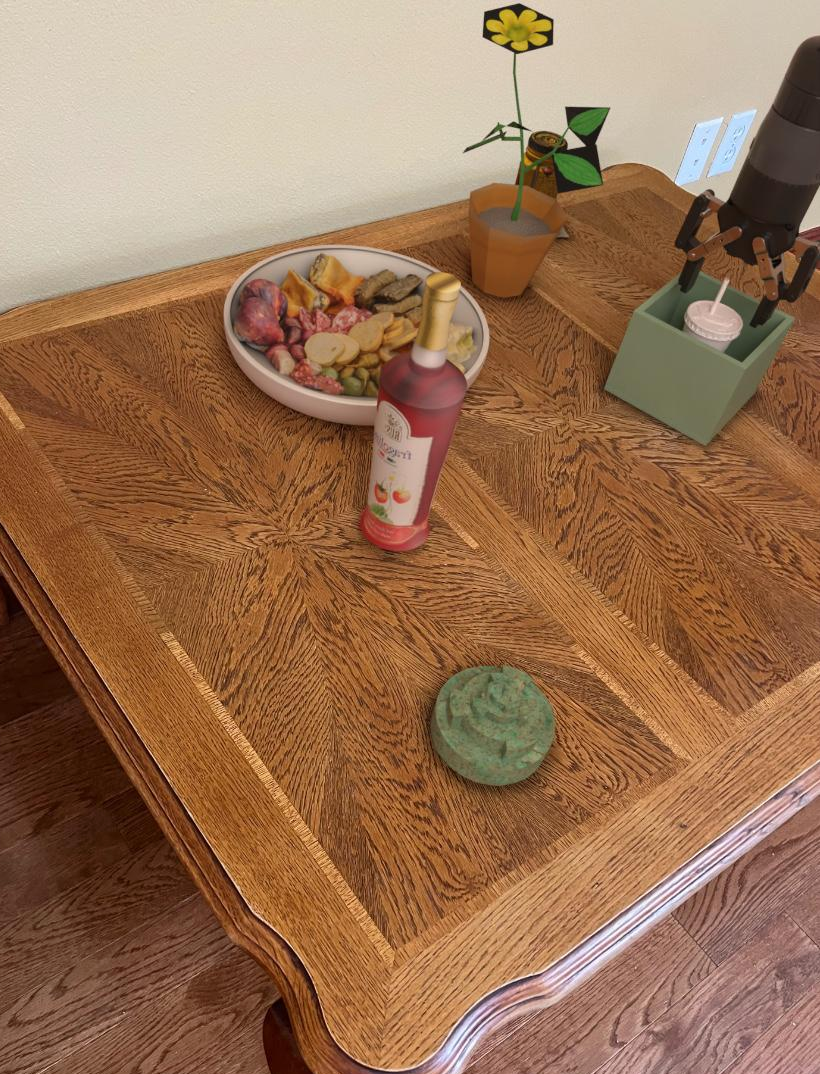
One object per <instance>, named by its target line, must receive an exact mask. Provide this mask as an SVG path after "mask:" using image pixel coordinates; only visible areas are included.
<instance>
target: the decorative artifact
mask: <svg viewBox="0 0 820 1074" xmlns="http://www.w3.org/2000/svg"><path fill="white" fill-rule="evenodd" d="M533 681H534V679H533V677H531V676H530V675H529V674H527V673H525V672H524V671H522V670H520V669H518V668H516V667H513V666H510V665H507V664H502V666H493V665H478V666H473V667H468V668H466V669H463V670H461V671H459V672H457V673H455V674H454V675H452V676H451V677H449V678H448V679H447V681H446V682H445V683H444V684H443V686H441V688H440V690H439V692H438V695H437V698H436V701H435V704H434V707H433V711H432V714H431V716H430V736H431V739H432V743H433V745H434V748H435V750H436V752H437V753H438V755H439V756H440V758H441V759H442V760H443V761H444V763H445V764H446V765H447V766H448V767H450V769H452V771H454V772H455V773H457V774H458V775H460V776H461V777H463V778H466V779H467V780H470V781H472V782H475V783H477V784H481V785H486V786H498V787H499V786H508V785H512V784H516V783H520V782H521V781H524V780H525V779H528V778H529V777H530V776H532V775H533V774H534V773H535V772H536V771H537V770H538V769H539V768H540V766H541V764H542V763H543V761H544V760H545V757H546V755H547V753H548V752H549V750H550V748H551V746H552V743H553V742H554V738H555V735H556V720H555V713H554V711H553V707H552V706H551V704H550V702H549V700H548V698H547V696H545V694H544V693H543V691H542V690H541V689H540V688H539V687H538V686H537V685H536V684H535V683H534V682H533Z"/></svg>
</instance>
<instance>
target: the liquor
mask: <svg viewBox="0 0 820 1074" xmlns="http://www.w3.org/2000/svg"><path fill="white" fill-rule="evenodd" d="M461 284H462V283H461V281H460V279H459V278H458V277H457V276H456V275H453V274H452V273H448V272H443V271H441V272H435V273H431V274H429V275H428V276H427V278H426V282H425V287H424V292H423V298H422V307H423V315H422V319H421V322H420V325H419V329H418V332H417V335H416V339H415V342H414V345H413V349H412V352H408V353H404V354H400V355H397V356H395V357H393V358H391V359H389V360H388V361H387V362H386V363H385V364H384V365H383V367H382V369H381V372H380V379H379V390H378V399H377V408H376V417H375V426H374V430H373V442H372V443H373V444H372V456H371V457H372V458H371V466H370V473H369V474H370V475H369V483H368V494H367V499H366V507H365V508H364V509H363V511H362V512H361V514H360V517H359V527H360V530H361V533H362V534H363V536H364V537H365V538H366V539H367V540H368V541H369V542H370V543H372V544H373V545H375V546H377V547H379V548H381V549H383V550H387V551H393V552H406V551H411V550H414V549H416V548H418V547H420V546H421V545H423V544H424V543H425V541H426V540H428V538H429V535H430V529H431V525H430V521H429V520H428V519H429V516H430V512H431V509H432V505H433V501H434V498H435V494H436V492H437V488H438V485H439V481H440V478H441V475H442V470H443V468H444V464H445V462H446V459H447V456H448V453H449V451H450V447H451V443H452V441H453V438H454V435H455V431H456V428H457V424H458V421H459V417H460V414H461V412H462V411H461V410H462V408H463V405H464V401H465V397H466V395H467V391H468V390H467V381H466V378H465V376H464V374H463V373H462V372H461V370H460V369H459V368H458V367H457V366H455V365H454V364H453V363H452V362H450V361H449V360H448V359H446V354H447V345H448V336H449V327H450V320H451V317H452V315H453V312H454V310H455V307H456V305H457V300H458V296H459V291H460V286H462V285H461Z"/></svg>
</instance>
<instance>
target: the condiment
mask: <svg viewBox="0 0 820 1074" xmlns="http://www.w3.org/2000/svg"><path fill="white" fill-rule="evenodd" d="M561 137H562V134H561V135H560V134H558V133H557V132H554V131H549V130H538V131H535V132H534V131H533V132H532V133H531V134H530V136H529V137H528V140H527V146H526V147H525V151H524V167H525V168H526V167H527V166H529V165H531V164H532V163H534V162H535V161H537V160H539V159H540V158H542V157H543V156H545V155H547V154H548V153H550V152H552V150H553V149H554V147H555V146H556V144H557V143H558V141H559V140H560V138H561ZM568 147H569V143H568V141H567V139H566V138H565V137H564V138H563V139H562V141H561V143H560V144H559V146H558V148H557V150H556V151H555V152H557V151H562V150H568ZM517 169H518V170H517V174H516V178H515V183H514V185H519V181H520V174H521V160H520V161H519V166H518V168H517ZM523 185H524V186H529V187H531V188H533V189H535V190H537V191H539V192H541V193H544V194H546V195H548V196H550V197H552V198H554V199H556V200H557V198H558V194H559V193H558V191H557V184H556V178H555V172H554V166H553V159H552V155H551V156H550V157H548V158H547V159H545V160H544V161H542V162H541V163H539V164H538V165H536V166H535V167H533V168H532V169H530V170H529V171H527V172H526V173H524V179H523ZM556 238H570V236H569V234H568V233H567V232H566V229H565V228H564V226H563V227H562V229H561V231H560V232H559V234H558V236H557V237H556Z"/></svg>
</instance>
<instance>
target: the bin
mask: <svg viewBox="0 0 820 1074" xmlns="http://www.w3.org/2000/svg"><path fill="white" fill-rule="evenodd" d="M680 275H681V272H680V273H679V274H677V275H676V276H674V277H673V278H672V279H671V280H669V281H668V283H666V284H665V285H663V286H662V287H661V288H660V289H658V290H657V291H656V292H655V293H654V294H652V295H651V296H650V297H649V298H647V299H646V300H644V302H643V303H641V304H640V305H639V306H638V307H636V308H635V309H634V310H633V312H632V315H631V317H630V320H629V322H628V325H627V327H626V330H625V332H624V335H623V337H622V340H621V343H620V344H619V348H618V351H617V354H616V355H615V358H614V361H613V363H612V367H611V369H610V372H609V374H608V377H607V379H606V382H605V385H604V387H603V390H605V391H606V392H608V393H610V394H611V395H613V396H615V397H617V398H619V399H621V400H623V402H626V403H628V404H629V405H630V406H633V407H634V408H636V409H638V410H639V411H642V412H643V413H645V414H647V415H649V416H650V417H653V418H654V419H656V420H658V421H660V422H662V423H663V424H665V425H667V426H669V427H670V428H672V429H674V430H676V431H677V432H679V433H681V434H682V435H685V436H686V437H688V438H689V439H692V441H695V442H697V443H698V444H700V445H702V446H704V447H706V446H707V445H708V444H709V443H710V442H711V441H712V440H713V439H714V437H715V436H716V435H717V434H718V433H720V432H721V430H722V429H723V428H724V427H725V425H727V424H728V423H729V422H730V420H731V419H732V418H733V417H734V416H735V415H736V414H737V413H738V412H739V411H740V410H741V409H742V408H743V406H744V405H746V404H747V402H749V400H750V399H751V398H752V397H753V396H754V395H755V394H756V391H757V389H758V388H759V386H760V384H761V382H762V381H763V379H764V377H765V375H766V373H767V371H768V369H769V368H770V366H771V364H772V362H773V360H774V359H775V357H776V355H777V353H778V351H779V349H780V348H781V345H782V344H783V342H784V341H785V339H786V337H787V335H788V333H789V331H790V329H791V328H792V325H793V324H794V322H795V320H796V317H795V316H792V315H790V314H789V313H786V312H785V311H782V310H781V309H779V308H777V307H776V308H775V310H774V312H773V314H772V316H771V318H770V319H769V320H768V321H767V322H766V323H765V324H763V325H762V326H761V325H758V326H757V327H756V328H753V327H751V326H749V324H750V322H751V320H752V318H753V316H754V314H755V312H756V310H757V308H758V306H759V304H760V302H761V300H760V299H758V298H756V297H754V296H752V295H750V294H748V293H746V292H745V291H742V290H740V289H738V288H735V287H733V286H732V285H730V284H728V285H727V287H726V290H725V292H724V294H723V296H722V298H721V300H720V302H719V303H721V304H724V305H726V306H728V307H730V308H731V309H733V310H734V311H735V312H737V313H738V314H739V316H740V317H741V319H742V321H743V327H742V329H741V331H740V335H739V336H738V337H737V338H735V339H733V340H732V341H731V343H730V344H729V346H728V348H727V349H726V350H725V352H724V353H723V352H721V351H719V350H717V349H715V348H713V347H711V346H709V345H707V344H705V343H703V342H702V341H700V340H698V339H696V338H694V337H692V336H690V335H688V334H686V333H684V332H682V330H683V327H684V324H685V320H684V315H685V312H686V311H687V309H688V307H689V305H690V304H692V303H694V302H697V301H703V300H706V301H715V299H716V297H717V294H718V292H719V290H720V288H721V286H722V284H723V281H721V280H719V279H717V278H716V277H714V276H711V275H709V274H707V273H705V272H703V271H701V270H700V272H699V275H698V277H697V279H696V281H695V284H694V286H693V287H692V289H691V290H689V291H688V292H687V293H686V294H685V293H683V292H681V291H680V288H681V285H679V284H678V279H679V277H680Z"/></svg>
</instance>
